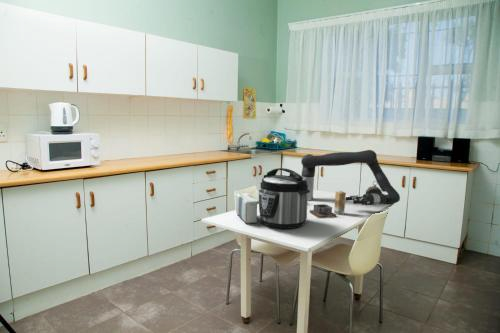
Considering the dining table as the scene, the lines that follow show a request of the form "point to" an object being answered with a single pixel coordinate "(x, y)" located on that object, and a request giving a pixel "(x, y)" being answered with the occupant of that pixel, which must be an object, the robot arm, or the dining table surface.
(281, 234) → the dining table surface
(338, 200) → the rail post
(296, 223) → the pressure cooker
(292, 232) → the dining table surface
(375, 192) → the alarm clock
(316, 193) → the dining table surface
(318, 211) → the socket board
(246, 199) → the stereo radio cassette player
